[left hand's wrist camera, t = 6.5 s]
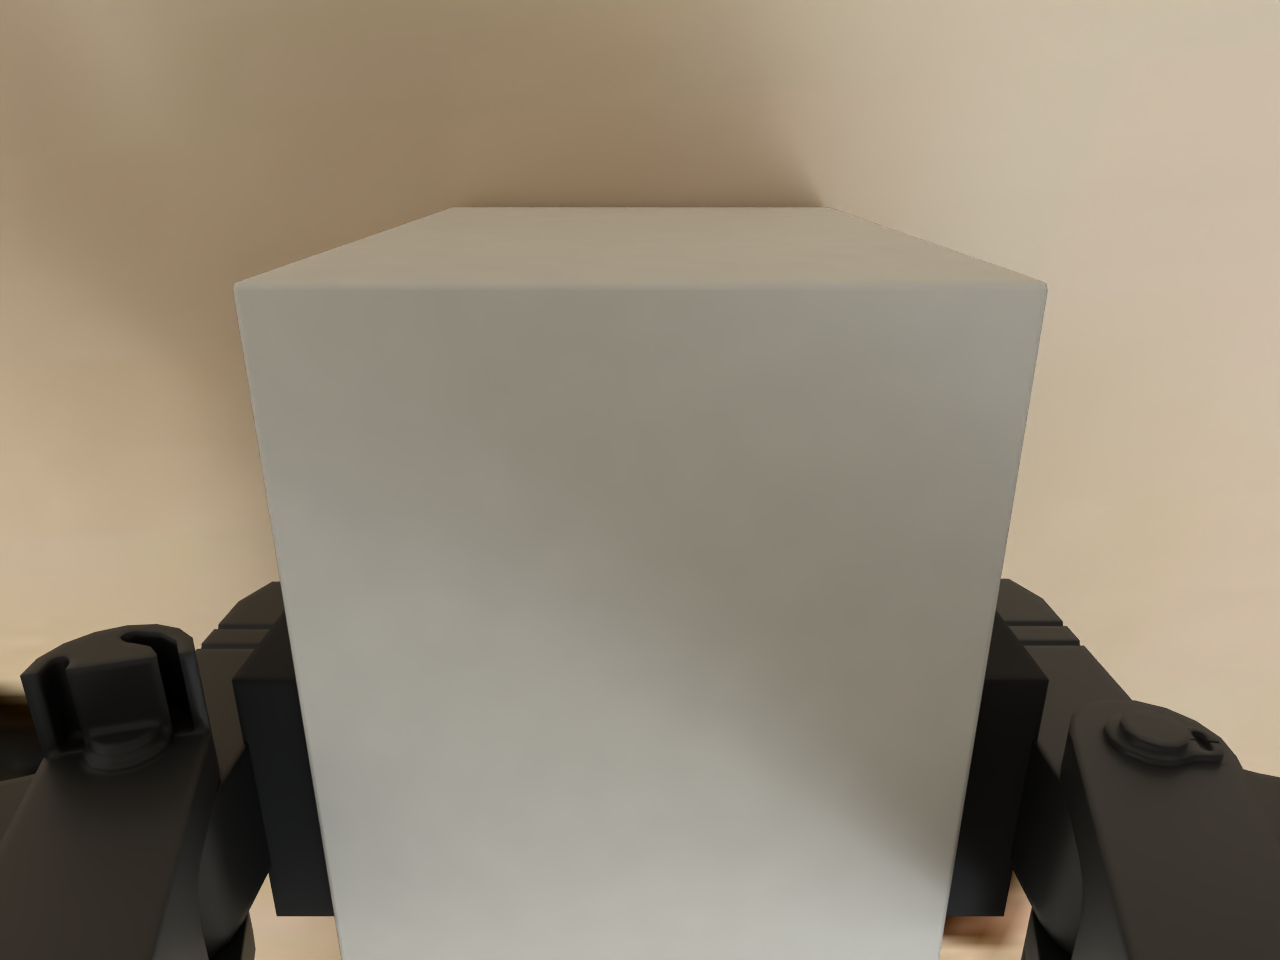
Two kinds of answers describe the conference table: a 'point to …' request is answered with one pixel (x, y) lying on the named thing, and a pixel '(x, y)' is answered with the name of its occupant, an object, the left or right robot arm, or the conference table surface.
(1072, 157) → the conference table surface
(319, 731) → the beam
